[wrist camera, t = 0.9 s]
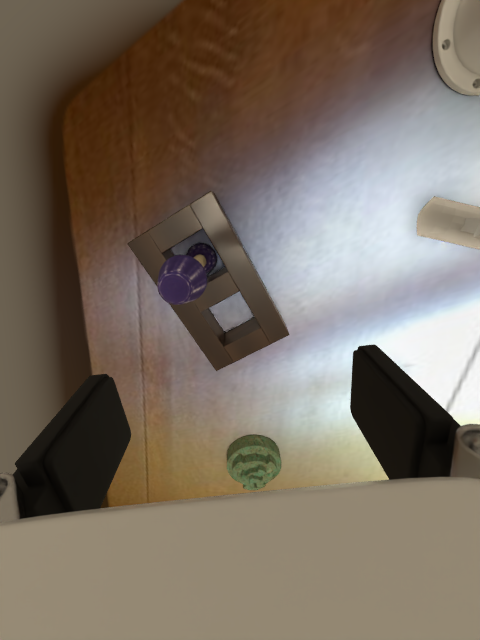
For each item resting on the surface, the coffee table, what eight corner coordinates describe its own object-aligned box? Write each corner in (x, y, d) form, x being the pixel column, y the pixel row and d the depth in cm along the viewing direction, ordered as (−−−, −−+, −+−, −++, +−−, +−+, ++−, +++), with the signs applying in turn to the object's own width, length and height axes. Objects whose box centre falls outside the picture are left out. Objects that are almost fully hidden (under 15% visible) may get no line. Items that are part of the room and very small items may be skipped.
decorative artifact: (222, 468, 55) (271, 476, 56) (221, 504, 48) (276, 511, 49) (233, 430, 51) (285, 439, 52) (233, 463, 44) (292, 472, 45)
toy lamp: (182, 271, 39) (148, 313, 24) (183, 238, 38) (146, 259, 22) (216, 274, 40) (203, 317, 24) (218, 241, 38) (206, 264, 23)
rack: (214, 192, 36) (211, 190, 31) (284, 322, 43) (289, 334, 39) (139, 239, 38) (127, 243, 34) (218, 355, 45) (216, 371, 41)
